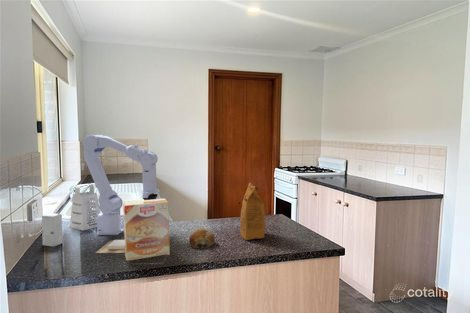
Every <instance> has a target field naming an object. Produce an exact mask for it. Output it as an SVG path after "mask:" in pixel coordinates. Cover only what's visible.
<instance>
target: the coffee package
mask: <svg viewBox="0 0 470 313" xmlns="http://www.w3.org/2000/svg"><path fill="white" fill-rule="evenodd" d="M258 190H259V187H258V186H255V185H254V184H253V183H252V182H249V183H248V186H247V188H246V191H245V194H244V196H243V199H242V202H241V203H242V204H241V208H240V221H239V222H240V224H239V225H240V226H239V228H240V229H239V230H240V236H241V238H242V239H243V240H245V241H250V240H256V239H264V238H266V237H265V230H266V218H265V216H266V214H265V203H264V201H263V199H262V198H261V197H260V195H259V194H258V192H257V191H258Z"/></svg>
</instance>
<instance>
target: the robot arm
mask: <svg viewBox="0 0 470 313" xmlns="http://www.w3.org/2000/svg"><path fill="white" fill-rule="evenodd" d="M81 145H82V147H83V159H84V161H85V164H86V166H87V167H88V170H89V172H90V176H91V177H92V180H93V183H94V184H95V187H96V189H97V191H98V193H99V195H98V203H99V208H100V213H99V214H98V216H97V218H96V219H97V224H96V225H97V227H96V231H97V232H96V236H97V235H98V236H101V235H102V236H104V235H110V236H112V235H115V236H116V235H119V234H121V233H122V232H124V228H122V225H121V224H122V220H121V208H123V207H122V206H123V202H124V201H123V200H122V198H121V197H120V196H119V195H118V193H117V192H116V191H115V190H113V188H112V185H111V183H110V182H109V179H108V177H107V175H106V173H105V169H104V168H103V164H102V163H101V161H100V158H99V157H100V155H101V153H102V152H103V151H104V150H105V149H106V148H111V149H113V150H116V151H118V152H121V153H124V154H125V157H126V158H129V159H131V160H133V161H135V162H137V163H140V165H141V166H142V169H141V170H142V197H141V198H142V199H143V200H153V199H158V193H160V189H158V188H157V186H158V185H157V162H158V160H159V158H158V155H157V154H156V153H155V152H153V151H149V152H148V149H143V148H140V147H139V146H138V145H137V144H131V145H129V146H128V145H126V144H124V143H122V142H120V141H118V140H116V139H114V138H112V137H110V136H107V135H104V134H87V135H86V136H85V137H84V139H83V141H82V142H81Z"/></svg>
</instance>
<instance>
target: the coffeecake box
mask: <svg viewBox="0 0 470 313" xmlns="http://www.w3.org/2000/svg"><path fill="white" fill-rule="evenodd" d="M122 202H123V205H122V206H123V207H122V210H123V229H124V230H123V232H124V233H123V234H124V235H123V236H124V240H125V253H124V257H125V261H133V260H139V259H147V258H152V257H159V256H164V255H167V256H169V255H171V254H170V249H171V248H170V218H169V217H170V215H169V214H170V213H169V201H168V200H167V199H166V198H156V199H153V200H144V199H143V200H132V201H131V200H130V201H122Z"/></svg>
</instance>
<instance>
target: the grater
mask: <svg viewBox="0 0 470 313" xmlns="http://www.w3.org/2000/svg"><path fill="white" fill-rule="evenodd" d="M84 186H88V187H89V191H86V192H81V191H80V190H81V187H84ZM74 191H75V192H74V193H73V194H72V201H71V202H72V204H71V211H70V222H69V228H70V229H75V230H79V231H87V230H89V229H93V228H97V216H98V214H99V213H101V211H100V208H99V201H98V199H99V197H98V193H97V192H95V186H94V184H92V183H84V184H83V183H82V184H76V186H75V188H74Z"/></svg>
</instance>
